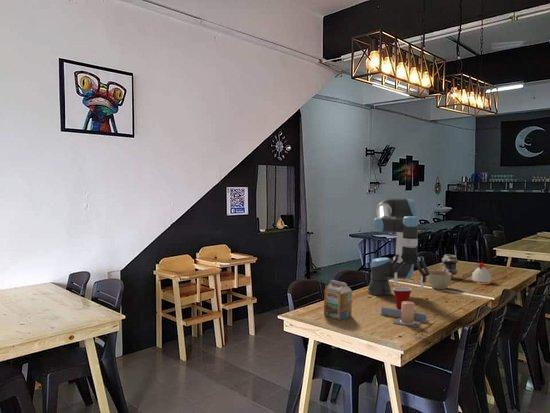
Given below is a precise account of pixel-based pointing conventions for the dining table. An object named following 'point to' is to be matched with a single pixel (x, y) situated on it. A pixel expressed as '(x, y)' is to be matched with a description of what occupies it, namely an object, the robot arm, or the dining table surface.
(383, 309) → the divider wall
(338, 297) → the milk carton
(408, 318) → the beige small cylinder
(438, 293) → the dining table surface
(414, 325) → the resting mat
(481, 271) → the kitchen timer
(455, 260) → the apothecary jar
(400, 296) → the plastic cup
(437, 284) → the planter bowl
